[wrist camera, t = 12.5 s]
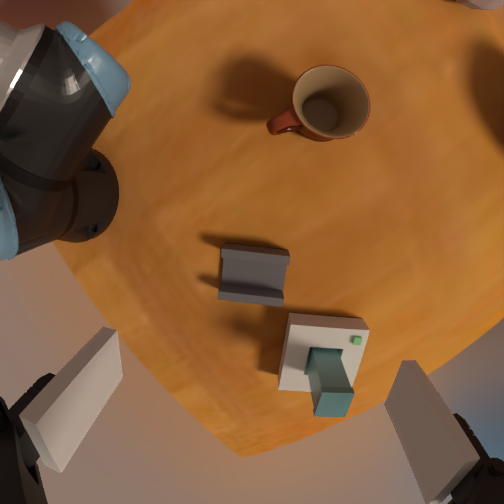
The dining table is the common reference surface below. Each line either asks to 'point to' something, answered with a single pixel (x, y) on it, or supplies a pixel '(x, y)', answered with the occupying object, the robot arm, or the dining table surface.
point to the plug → (328, 382)
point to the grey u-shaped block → (253, 274)
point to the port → (319, 335)
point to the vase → (482, 4)
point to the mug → (324, 105)
